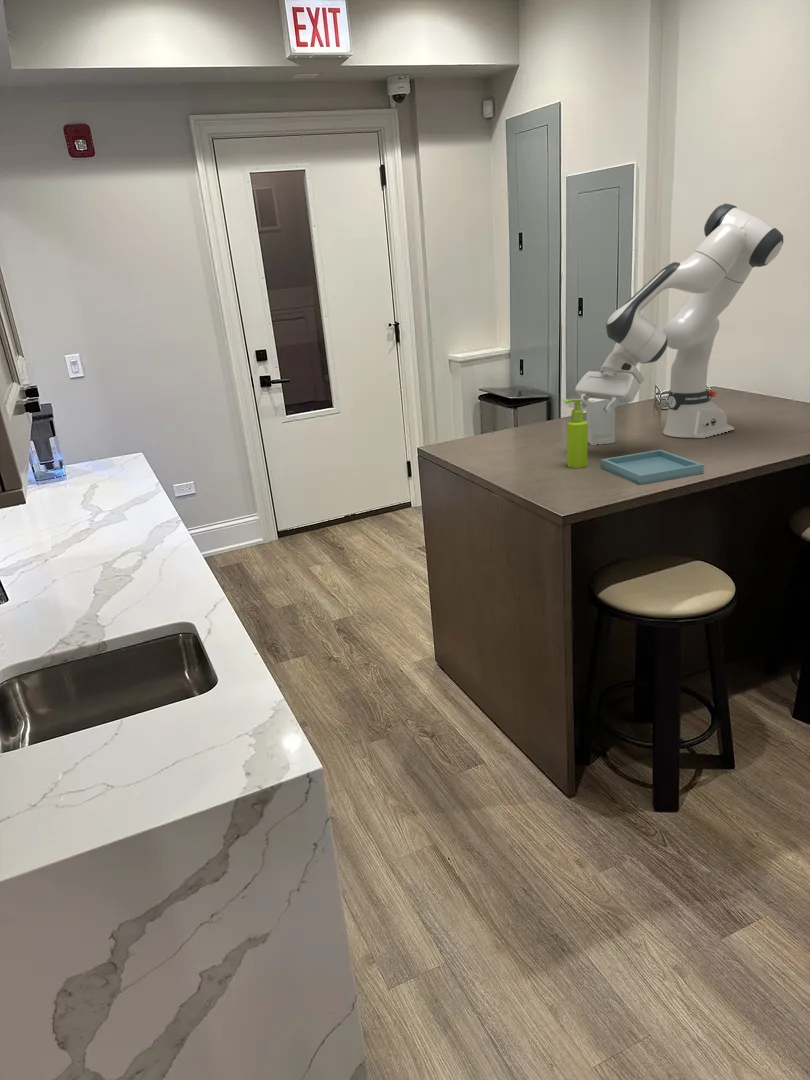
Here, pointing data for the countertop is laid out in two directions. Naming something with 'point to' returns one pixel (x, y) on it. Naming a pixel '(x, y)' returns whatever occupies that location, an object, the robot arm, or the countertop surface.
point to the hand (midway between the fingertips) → (593, 409)
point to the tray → (652, 466)
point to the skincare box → (600, 422)
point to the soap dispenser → (577, 437)
